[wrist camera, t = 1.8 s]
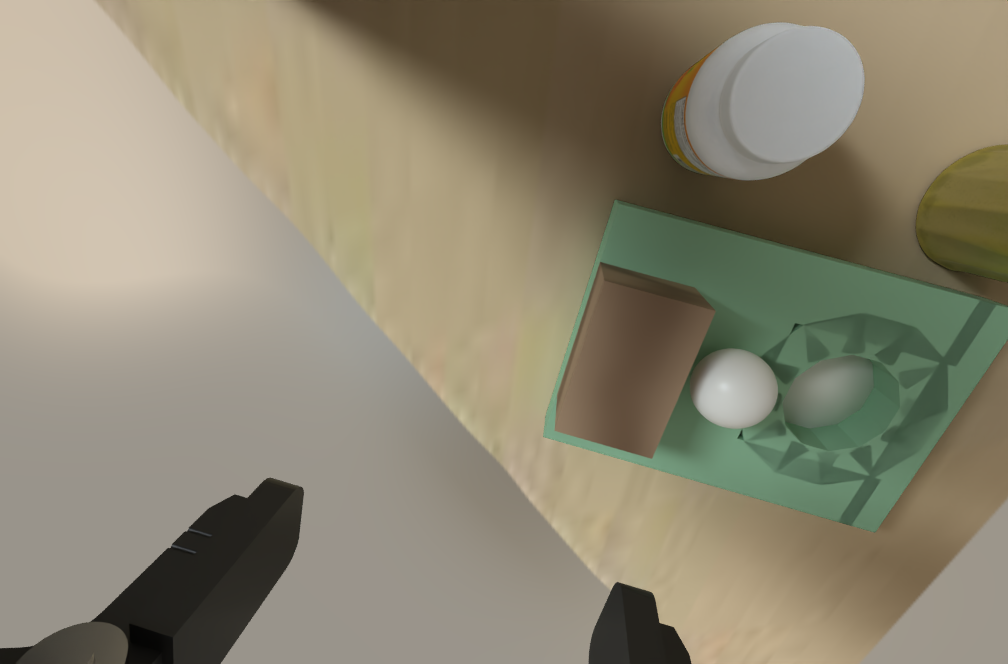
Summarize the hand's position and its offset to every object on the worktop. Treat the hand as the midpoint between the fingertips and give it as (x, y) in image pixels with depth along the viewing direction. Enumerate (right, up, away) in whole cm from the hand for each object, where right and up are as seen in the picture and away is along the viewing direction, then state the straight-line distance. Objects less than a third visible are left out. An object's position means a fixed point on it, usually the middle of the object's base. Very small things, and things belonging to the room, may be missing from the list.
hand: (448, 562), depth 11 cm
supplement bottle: (+12, +16, +14) cm, 24 cm away
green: (+15, +3, +18) cm, 24 cm away
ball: (+13, +2, +14) cm, 19 cm away
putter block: (+8, +4, +16) cm, 18 cm away
